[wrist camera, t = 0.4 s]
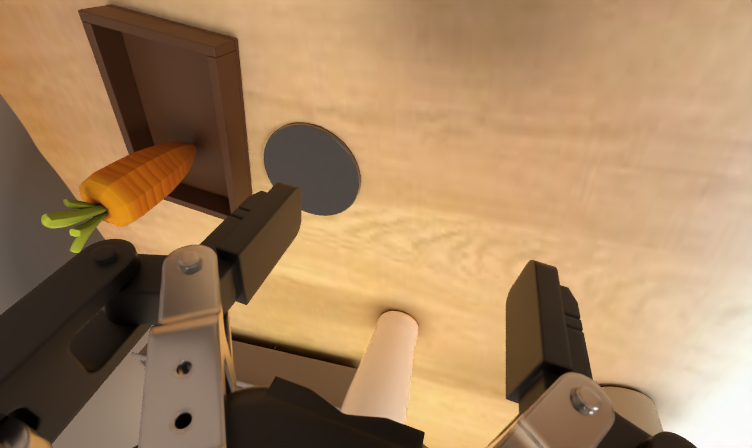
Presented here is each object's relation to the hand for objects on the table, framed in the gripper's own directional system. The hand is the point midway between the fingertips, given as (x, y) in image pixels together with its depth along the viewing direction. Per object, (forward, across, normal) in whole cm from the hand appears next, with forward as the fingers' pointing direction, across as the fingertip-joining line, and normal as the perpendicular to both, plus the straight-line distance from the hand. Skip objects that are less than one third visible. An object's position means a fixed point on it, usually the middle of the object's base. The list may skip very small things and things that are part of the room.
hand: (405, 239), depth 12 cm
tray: (+18, +24, +10) cm, 32 cm away
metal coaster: (+18, +11, +12) cm, 24 cm away
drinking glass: (+18, -2, +31) cm, 36 cm away
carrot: (+18, +24, +12) cm, 32 cm away
